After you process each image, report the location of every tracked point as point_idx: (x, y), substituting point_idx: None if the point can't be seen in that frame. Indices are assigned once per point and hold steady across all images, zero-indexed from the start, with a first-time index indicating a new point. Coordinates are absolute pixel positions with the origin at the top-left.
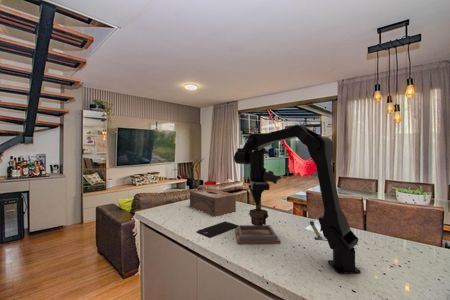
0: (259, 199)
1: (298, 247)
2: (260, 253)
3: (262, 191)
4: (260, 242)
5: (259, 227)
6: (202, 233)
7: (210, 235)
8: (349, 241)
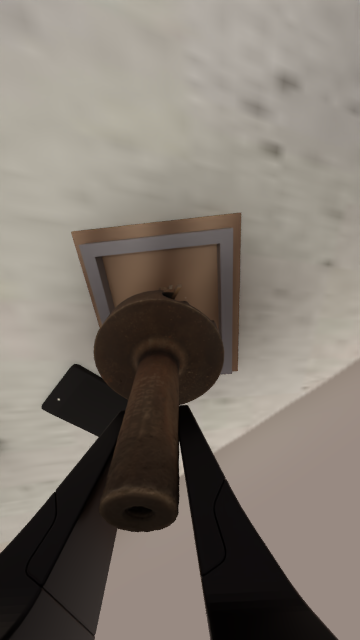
0: (211, 453)
1: (283, 122)
2: (307, 302)
3: (322, 632)
4: (237, 298)
5: (108, 297)
6: None
7: None
8: None
